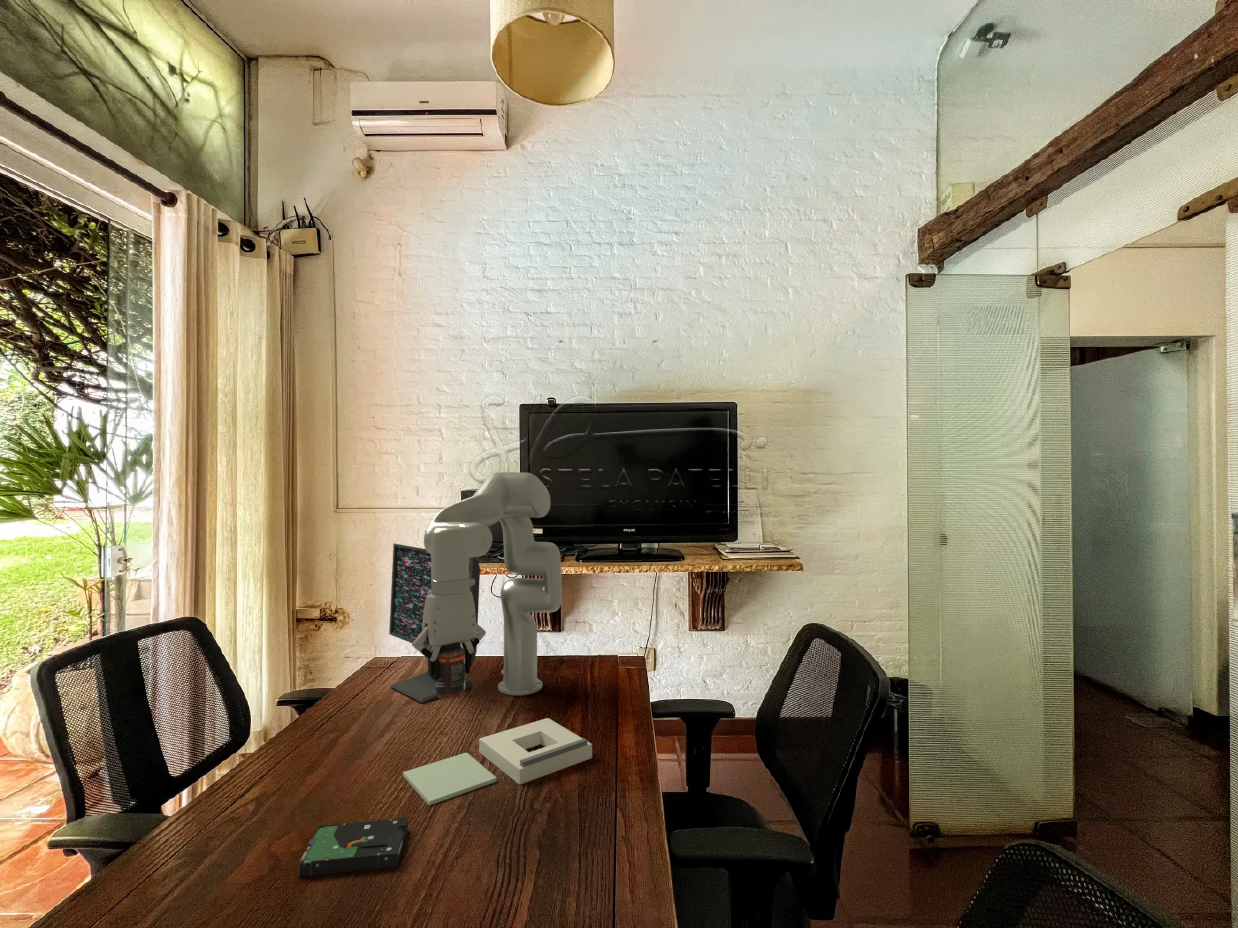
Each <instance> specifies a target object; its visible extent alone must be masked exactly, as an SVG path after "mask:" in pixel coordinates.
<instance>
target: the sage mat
mask: <svg viewBox="0 0 1238 928" xmlns="http://www.w3.org/2000/svg"><path fill="white" fill-rule="evenodd" d="M402 777H403V778H404V779H405V780H406V781H407V783H409V785H410V786H411V787H412V788H413V789H414V790H415V792H416V793H417V794H418V795H419V796H420V797H421V798H422V800H423V801H424V802H425V803H426V804H427V805H428V806H432V805H435V804H438V803H441V802H443V801H446V800H448V799H452V798H455V797H457V796H460V795H463V794H466V793H468V792H472V791H474V790H476V789H479V788H482V787H485V786H488V785H490V784H494V783H496V782H498V781H497V780H498V779H497V776H496V775H494V774H493V773H492V772H491V771H489V769H487V768H486V767H485V766H484V765H482V764H481V763H480V762H479V761H478V760H476V759H475V758H474V757H473V756H471V754H470V753H468V752H463V753H461V754H457V755H454V756H450V757H447V758H444V759H441V760H438V761H434V762H431V763H429V764H425V765H422V766H419V767H415V768H413V769H410V770H406V771H403V772H402Z"/></svg>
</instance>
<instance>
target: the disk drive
mask: <svg viewBox="0 0 1238 928" xmlns="http://www.w3.org/2000/svg"><path fill="white" fill-rule="evenodd" d="M408 830H409V818H408V817H398V818H397V817H395V818H388V819H379V820H378V819H377V820H367V821H357V822H356V821H355V822H354V821H353V822H346V823H345V822H344V823H332V824H324V825H318V826H317V828H316V830H315V832H314V834H313V835H312V837H311V839H310V840H309V842H308V846H307V847H306V849H305V851H304V853H303V855H302V857H301V858H300V859H299V864H298V867H297V872H298V873H297V876H298V877H299V878H300V877H307V876H308V877H309V876H310V877H311V876H319V875H321V876H322V875H330V874H338V873H347V872H348V873H349V872H357V871H358V872H359V871H368V870H377V869H378V870H380V869H388V868H396V867H398V864H399V861H400V857H401V854H402V851H403V848H404V844H405V840H406V837H407V834H408Z"/></svg>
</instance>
